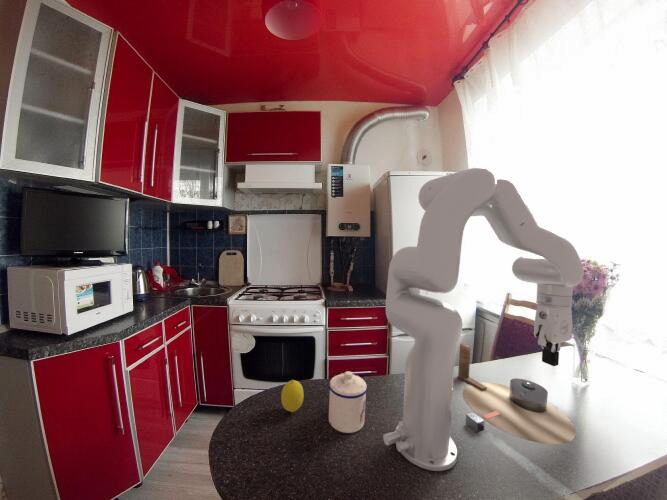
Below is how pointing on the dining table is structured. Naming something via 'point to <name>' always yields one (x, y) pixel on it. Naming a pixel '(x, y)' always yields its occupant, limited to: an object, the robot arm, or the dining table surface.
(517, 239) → the robot arm
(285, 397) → the lemon
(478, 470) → the dining table surface
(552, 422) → the turntable
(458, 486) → the dining table surface
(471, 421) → the speckled grey block
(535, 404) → the cover
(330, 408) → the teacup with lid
